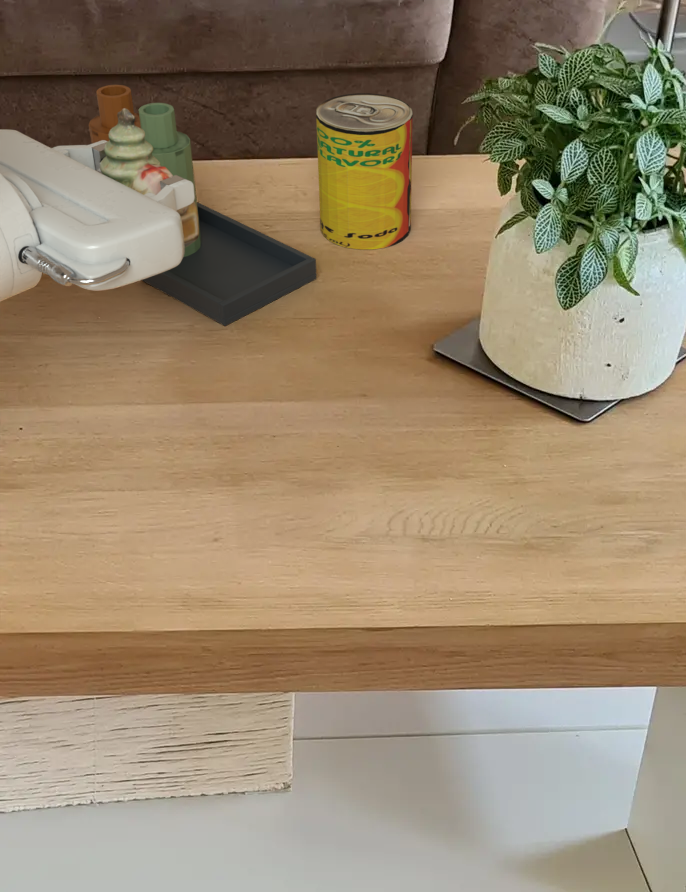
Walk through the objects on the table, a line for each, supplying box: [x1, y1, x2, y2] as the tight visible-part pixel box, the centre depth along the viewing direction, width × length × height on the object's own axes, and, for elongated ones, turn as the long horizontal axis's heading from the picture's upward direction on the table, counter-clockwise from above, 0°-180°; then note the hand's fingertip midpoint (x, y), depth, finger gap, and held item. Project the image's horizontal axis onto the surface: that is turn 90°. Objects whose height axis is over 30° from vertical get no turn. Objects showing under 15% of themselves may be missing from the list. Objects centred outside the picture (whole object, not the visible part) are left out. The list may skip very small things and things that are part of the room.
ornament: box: [100, 108, 199, 247], centre depth 85 cm, size 8×6×10 cm
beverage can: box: [315, 92, 414, 250], centre depth 112 cm, size 9×9×12 cm
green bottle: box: [137, 102, 201, 257], centre depth 107 cm, size 5×5×14 cm
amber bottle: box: [88, 84, 141, 174], centre depth 110 cm, size 5×5×14 cm
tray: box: [141, 201, 317, 327], centre depth 110 cm, size 23×11×2 cm, turn 50°
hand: (150, 169), depth 85 cm, fingers closed on ornament, 7 cm apart
